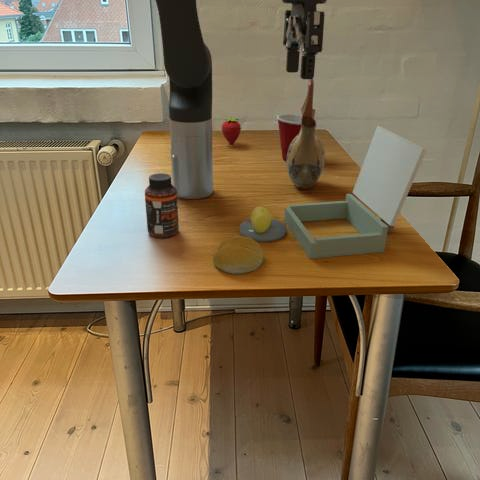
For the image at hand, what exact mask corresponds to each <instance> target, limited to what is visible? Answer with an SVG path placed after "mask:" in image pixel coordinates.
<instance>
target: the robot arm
mask: <svg viewBox="0 0 480 480" xmlns="http://www.w3.org/2000/svg"><path fill="white" fill-rule="evenodd" d="M281 1H282V3H283V4H291V9H286V10H285V12H284V21H283V23H284V25H283V40H282V43H283V46H285V47H284V48H285V50H286V65H285V67H286V68H285V71H286V73H294V74H295V73H298V72H299V67H300V75H299V77H300V79H302V80H310V79H313V80H314V77H315V67H316V56H318V54H319V53H322V51H323V42H324V41H323V40H324V29H325V27H324V26H325V11H319V10H318V9H317V7H318V6H317V5H321V4H322V5H324V4H326V3H327V1H328V0H281ZM155 4H156V7H157V8H156V9H157V11H158V12H157V13H158V16H159V23H160V34H161V42H162V43H161V45H162V56H163V65H164V66H163V67H164V70H165V72H166V74H167V76H168V78H169V101H168V116H169V133H170V134H169V135H170V161H171V163H170V165H171V166H170V167H171V176H172V177H171V184H172V185H173V186H174V187H175V188H176V190H177V198H182V199H188V200H196V199H198V200H199V199H203V198H207V197H209V196H212V194H213V193H214V170H213V169H214V167H213V166H214V165H213V164H214V163H213V162H214V161H213V158H214V157H213V156H214V155H213V62H212V61H213V60H212V59H213V58H212V54H211V51H210V49H209V47H208V46H207V44H206V43H205V42H204V39H203V34H202V29H201V25H200V21H199V15H198V8H197V0H155ZM317 10H318V11H317ZM300 50H301V52H300ZM300 53H301V59H300ZM300 60H301V61H300ZM300 62H301V63H300ZM299 64H300V65H299Z"/></svg>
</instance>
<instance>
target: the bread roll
mask: <svg viewBox="0 0 480 480" xmlns="http://www.w3.org/2000/svg"><path fill="white" fill-rule="evenodd" d="M263 261H264V250H263V248H262V246H261V245H260V244H259V243H258V241H254V240H253V239H251V238H249V237H245V236H242V235H235V236H232V237H229V238H226V239H225V240H223V241H222V242H220V244H219V246H218V247H217V251H216V252H215V253H214V255H213V258H212V262H213V264H214V266H215V267H216V268H218V269H220V270H221V271H223V272H225V273H228V274H234V275H238V274H239V275H241V274H242V275H243V274H247V273H250V272H253V271H257V270H258V268H260V267H261V265H262V263H263Z"/></svg>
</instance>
